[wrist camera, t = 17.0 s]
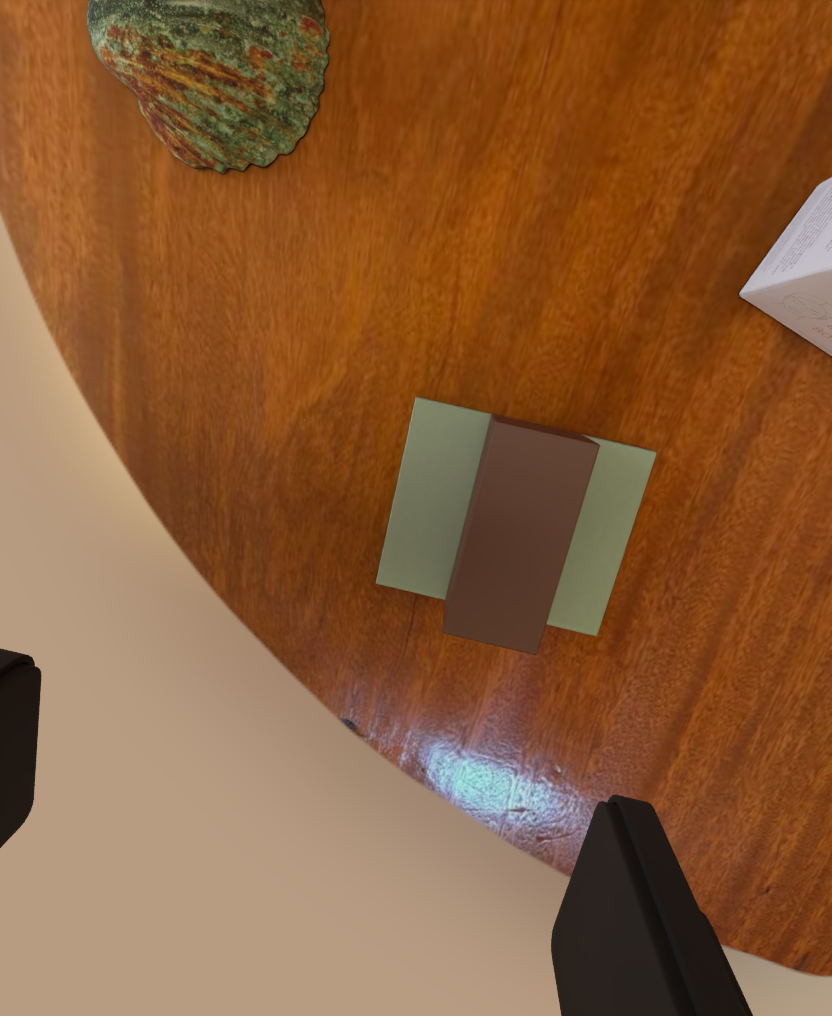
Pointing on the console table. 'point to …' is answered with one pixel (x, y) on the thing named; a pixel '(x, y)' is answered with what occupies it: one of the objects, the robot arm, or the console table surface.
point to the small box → (800, 273)
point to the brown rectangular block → (517, 533)
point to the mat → (445, 498)
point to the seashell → (217, 72)
